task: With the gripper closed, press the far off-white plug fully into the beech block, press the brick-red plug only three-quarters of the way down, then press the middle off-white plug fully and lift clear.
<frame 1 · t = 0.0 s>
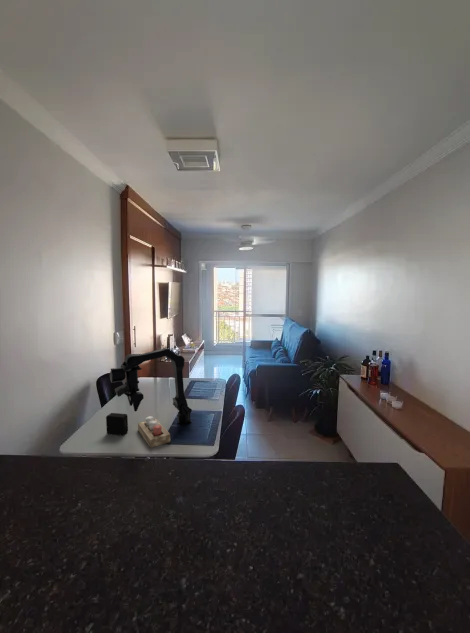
hand: (133, 408, 154), 15 cm above the table, fingers open, 9 cm apart
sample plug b: (153, 426, 154), point 5 cm above the table, slide at 0.0 cm
red plug: (157, 430, 149), point 5 cm above the table, slide at 0.0 cm
electronic device: (117, 433, 158), on the table
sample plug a: (149, 421, 160), point 5 cm above the table, slide at 0.0 cm
beech block: (153, 435, 155), on the table
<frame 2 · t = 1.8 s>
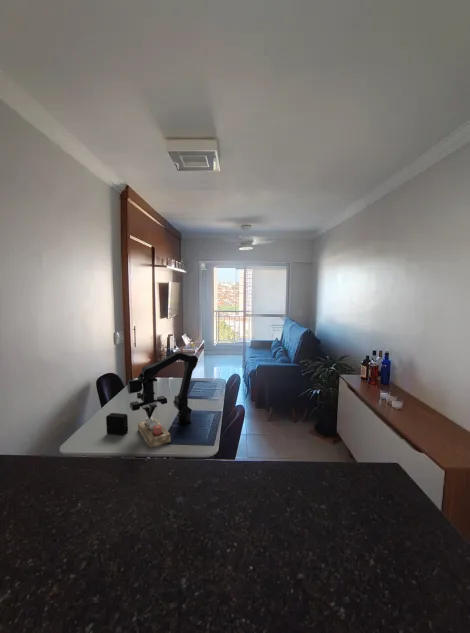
hand: (149, 418, 159), 7 cm above the table, fingers closed, pressing on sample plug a
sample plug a: (149, 421, 160), point 5 cm above the table, slide at -0.2 cm, touching gripper
everything else where it was.
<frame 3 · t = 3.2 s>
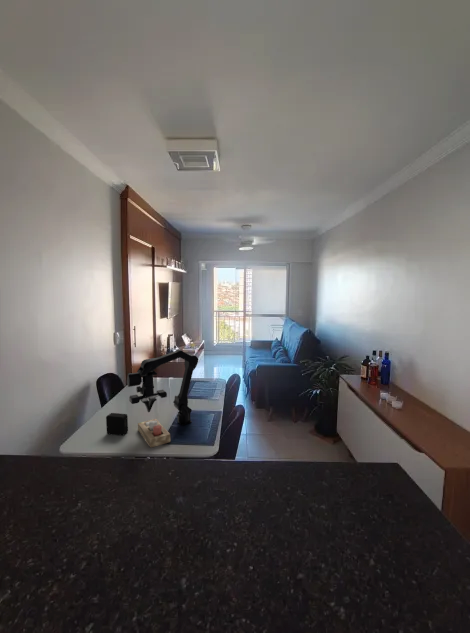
hand: (148, 411, 159), 11 cm above the table, fingers closed
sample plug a: (149, 426, 160), point 2 cm above the table, slide at -2.8 cm
everything else where it was.
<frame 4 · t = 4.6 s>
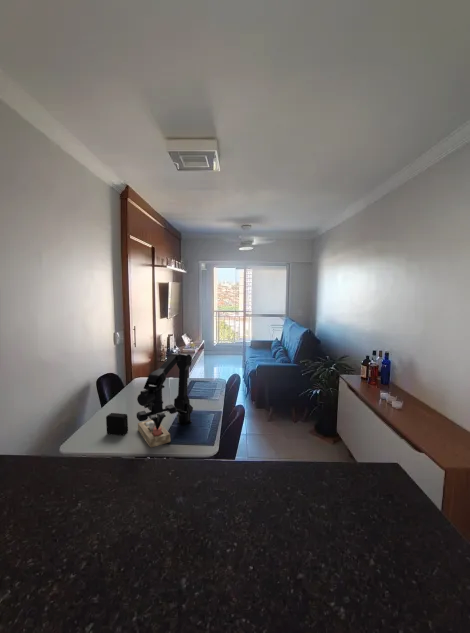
hand: (157, 429, 149), 6 cm above the table, fingers closed, pressing on red plug
red plug: (157, 432, 149), point 4 cm above the table, slide at -1.1 cm, touching gripper
everything else where it was.
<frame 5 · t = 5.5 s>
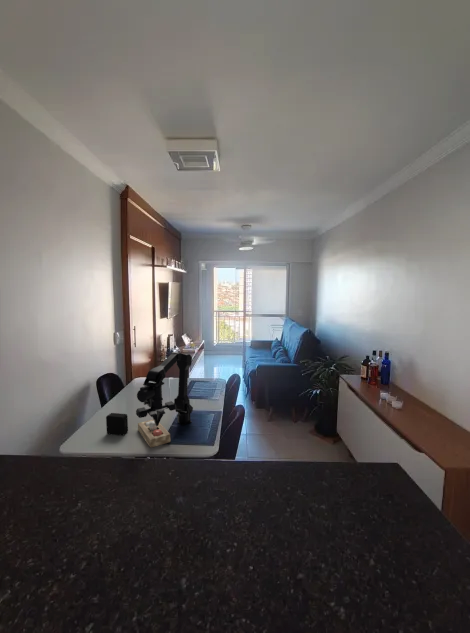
hand: (156, 425, 148), 8 cm above the table, fingers closed
red plug: (157, 435, 149), point 3 cm above the table, slide at -2.2 cm
everything else where it was.
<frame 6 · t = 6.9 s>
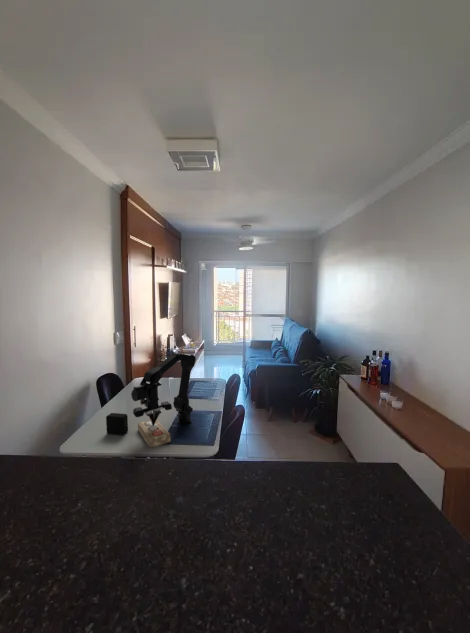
hand: (153, 424, 154), 6 cm above the table, fingers closed, pressing on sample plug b
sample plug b: (153, 428, 154), point 4 cm above the table, slide at -1.4 cm, touching gripper
everything else where it was.
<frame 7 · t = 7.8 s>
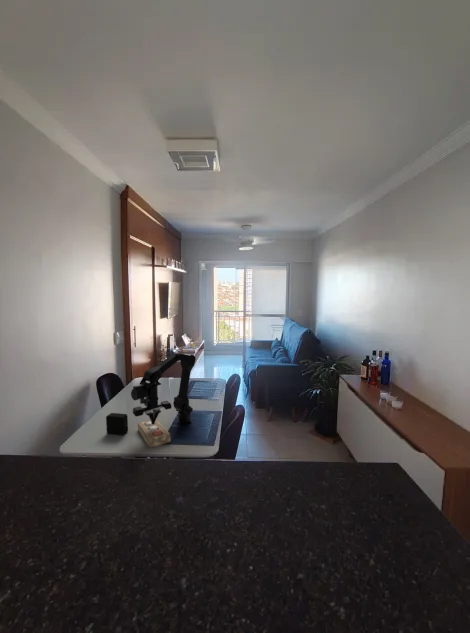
hand: (152, 424, 154), 6 cm above the table, fingers closed
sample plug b: (153, 431, 154), point 2 cm above the table, slide at -2.8 cm
everything else where it was.
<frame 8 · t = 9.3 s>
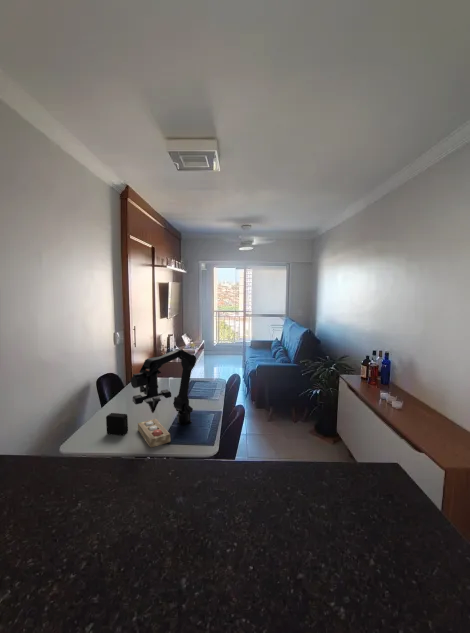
hand: (152, 412, 153), 12 cm above the table, fingers closed
nothing on the table moved.
at the end: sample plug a slide at -2.8 cm; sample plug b slide at -2.8 cm; red plug slide at -2.2 cm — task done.
